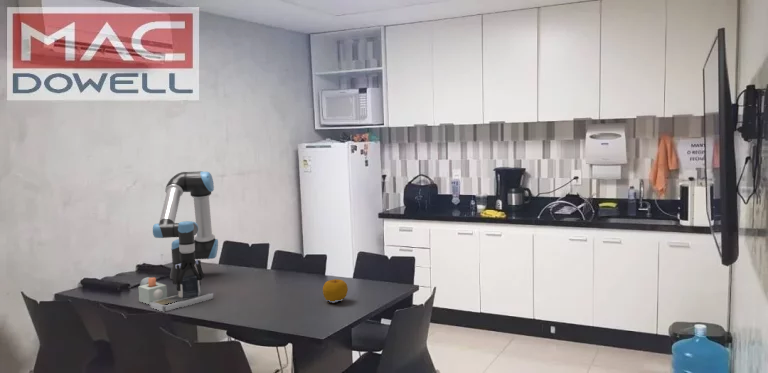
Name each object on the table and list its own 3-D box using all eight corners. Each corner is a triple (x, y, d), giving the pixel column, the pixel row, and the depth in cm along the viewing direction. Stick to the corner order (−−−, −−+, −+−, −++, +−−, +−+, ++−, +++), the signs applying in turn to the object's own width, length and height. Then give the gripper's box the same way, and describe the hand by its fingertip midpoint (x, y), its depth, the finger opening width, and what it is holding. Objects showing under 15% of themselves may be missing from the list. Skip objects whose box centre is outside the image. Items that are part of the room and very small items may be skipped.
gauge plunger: (154, 290, 303) (153, 276, 302) (157, 291, 301) (157, 278, 300) (147, 291, 300) (146, 278, 299) (151, 292, 298) (150, 279, 297)
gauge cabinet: (157, 296, 308) (156, 282, 307) (167, 300, 301) (166, 285, 300) (139, 301, 300) (138, 286, 299) (149, 305, 294) (148, 289, 293)
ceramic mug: (145, 295, 311) (144, 281, 311) (140, 291, 317) (139, 278, 317) (165, 291, 318) (164, 277, 317) (159, 288, 324) (159, 275, 324)
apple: (351, 299, 298) (351, 277, 297) (341, 307, 286) (341, 284, 285) (329, 297, 302) (328, 276, 301) (318, 304, 290) (317, 282, 289)
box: (196, 294, 303) (195, 274, 302) (198, 296, 298) (197, 276, 297) (180, 296, 300) (179, 276, 299) (182, 299, 295) (181, 278, 294)
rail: (199, 294, 311) (199, 289, 311) (213, 298, 303) (212, 293, 303) (150, 307, 289) (150, 301, 289) (163, 312, 281) (163, 306, 281)
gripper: (201, 247, 307) (203, 288, 310) (163, 254, 290) (165, 298, 293) (209, 248, 303) (211, 290, 305) (171, 256, 286) (174, 300, 288)
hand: (189, 294), depth 299 cm, fingers closed on box, 9 cm apart
